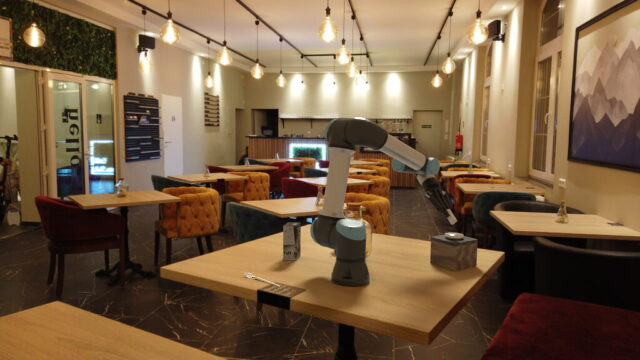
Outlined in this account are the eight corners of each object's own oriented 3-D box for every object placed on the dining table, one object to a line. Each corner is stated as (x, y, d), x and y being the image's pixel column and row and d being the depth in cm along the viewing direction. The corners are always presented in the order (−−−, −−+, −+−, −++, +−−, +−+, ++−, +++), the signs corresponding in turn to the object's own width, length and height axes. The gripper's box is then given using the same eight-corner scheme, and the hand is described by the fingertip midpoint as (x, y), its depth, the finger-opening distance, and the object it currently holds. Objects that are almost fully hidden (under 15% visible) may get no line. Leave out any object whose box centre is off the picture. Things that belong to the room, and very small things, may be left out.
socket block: (454, 271, 192) (455, 243, 191) (430, 262, 204) (431, 236, 203) (476, 266, 200) (477, 239, 198) (452, 258, 212) (453, 233, 210)
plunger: (453, 266, 196) (454, 237, 195) (440, 261, 203) (440, 233, 202) (466, 263, 201) (467, 235, 199) (452, 259, 207) (453, 231, 206)
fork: (278, 289, 171) (278, 284, 170) (242, 277, 183) (242, 272, 183) (284, 287, 173) (284, 282, 173) (248, 275, 186) (249, 271, 186)
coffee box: (296, 261, 206) (296, 226, 204) (282, 260, 207) (282, 225, 206) (301, 255, 215) (301, 222, 213) (288, 255, 216) (288, 221, 214)
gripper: (434, 185, 219) (459, 226, 206) (413, 187, 212) (438, 228, 199) (442, 175, 214) (469, 216, 201) (422, 176, 207) (448, 218, 194)
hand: (454, 222), depth 200 cm, fingers closed
